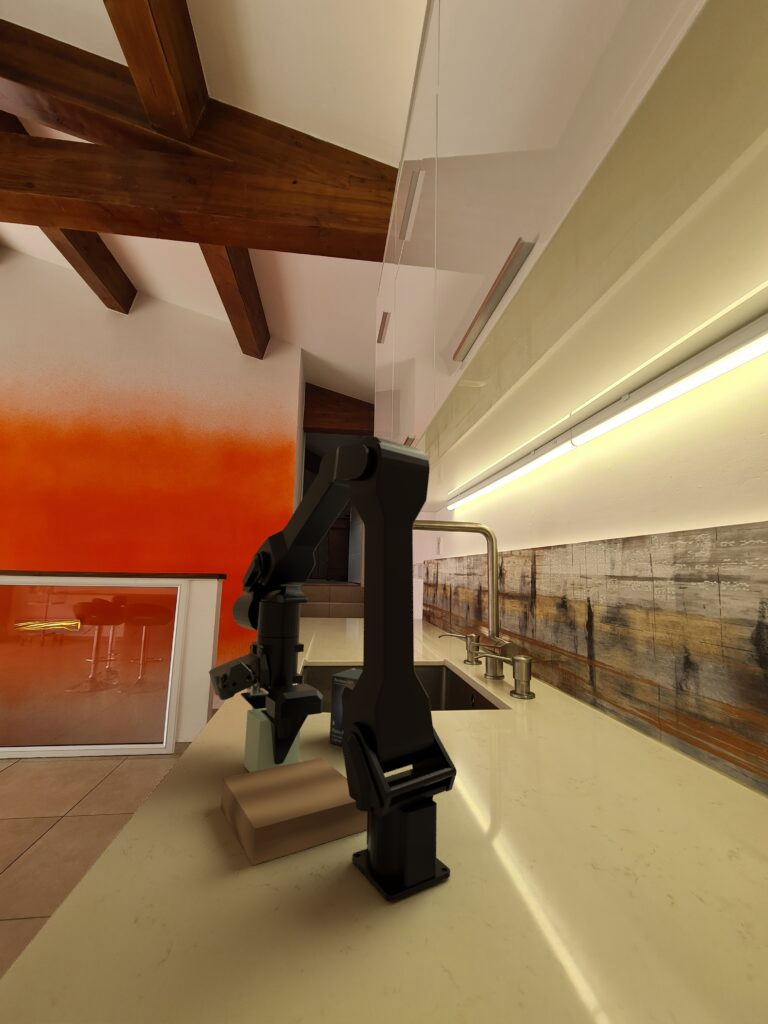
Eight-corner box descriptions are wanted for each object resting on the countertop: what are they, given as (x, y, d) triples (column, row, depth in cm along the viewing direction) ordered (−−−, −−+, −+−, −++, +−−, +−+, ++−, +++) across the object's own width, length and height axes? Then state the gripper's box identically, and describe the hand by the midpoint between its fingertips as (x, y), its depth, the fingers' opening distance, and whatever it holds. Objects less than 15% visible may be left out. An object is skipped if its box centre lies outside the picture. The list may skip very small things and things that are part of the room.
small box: (326, 744, 70) (329, 673, 71) (348, 732, 75) (351, 667, 77) (387, 758, 65) (389, 682, 66) (406, 744, 71) (407, 674, 72)
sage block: (297, 771, 59) (300, 715, 60) (256, 780, 56) (259, 721, 57) (283, 757, 64) (285, 705, 65) (243, 764, 61) (247, 710, 62)
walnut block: (369, 829, 46) (370, 797, 47) (252, 865, 40) (254, 828, 40) (320, 783, 56) (321, 757, 57) (220, 806, 50) (222, 777, 50)
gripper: (203, 630, 66) (193, 744, 64) (237, 648, 51) (226, 799, 48) (277, 627, 72) (270, 731, 70) (327, 643, 56) (321, 777, 54)
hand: (271, 755), depth 60 cm, fingers closed on sage block, 5 cm apart
